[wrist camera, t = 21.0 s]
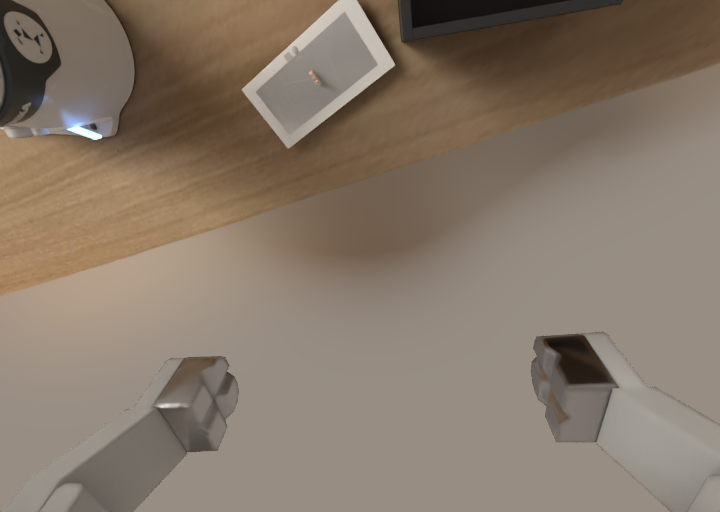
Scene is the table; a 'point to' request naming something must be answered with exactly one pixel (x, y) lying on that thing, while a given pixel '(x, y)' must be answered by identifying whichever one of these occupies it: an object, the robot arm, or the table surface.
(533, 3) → the basket
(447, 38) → the table surface
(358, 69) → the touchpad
